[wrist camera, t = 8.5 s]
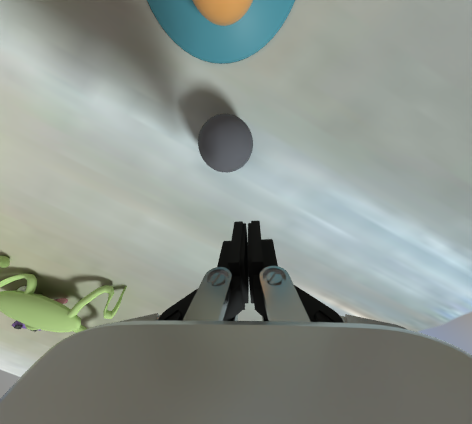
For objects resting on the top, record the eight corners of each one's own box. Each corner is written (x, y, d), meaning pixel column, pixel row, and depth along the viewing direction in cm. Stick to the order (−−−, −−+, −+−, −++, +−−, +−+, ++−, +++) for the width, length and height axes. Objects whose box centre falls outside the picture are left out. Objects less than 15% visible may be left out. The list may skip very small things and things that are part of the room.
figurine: (136, 342, 40) (121, 373, 35) (9, 313, 37) (-27, 342, 32) (145, 287, 32) (127, 317, 27) (-15, 246, 29) (-68, 270, 24)
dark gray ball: (244, 187, 18) (244, 163, 22) (262, 133, 14) (259, 116, 18) (190, 175, 17) (201, 152, 21) (194, 114, 14) (207, 101, 18)
